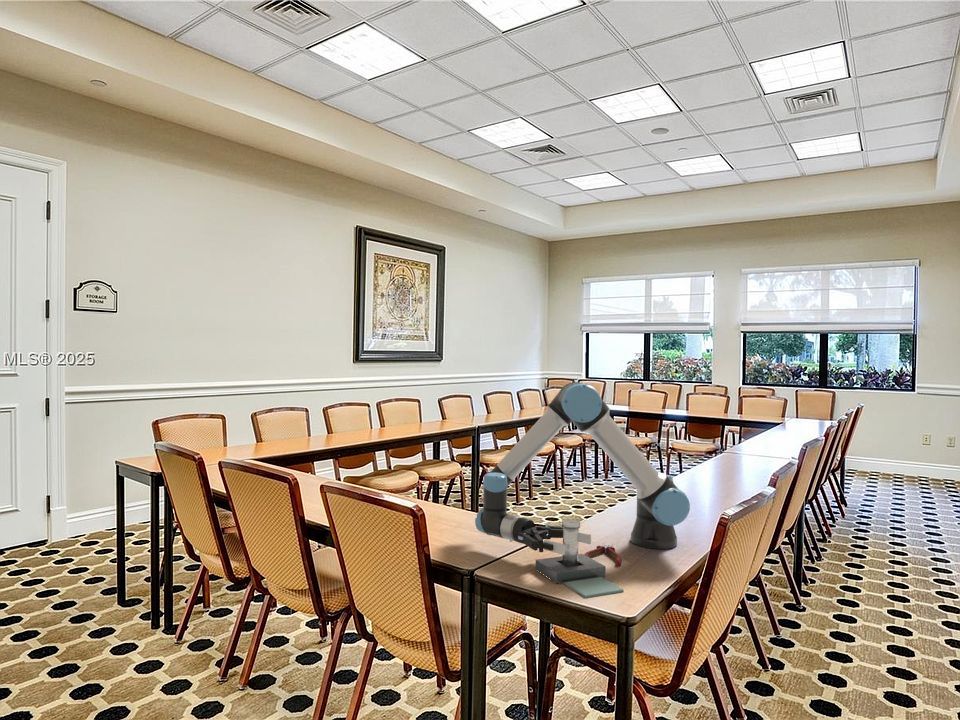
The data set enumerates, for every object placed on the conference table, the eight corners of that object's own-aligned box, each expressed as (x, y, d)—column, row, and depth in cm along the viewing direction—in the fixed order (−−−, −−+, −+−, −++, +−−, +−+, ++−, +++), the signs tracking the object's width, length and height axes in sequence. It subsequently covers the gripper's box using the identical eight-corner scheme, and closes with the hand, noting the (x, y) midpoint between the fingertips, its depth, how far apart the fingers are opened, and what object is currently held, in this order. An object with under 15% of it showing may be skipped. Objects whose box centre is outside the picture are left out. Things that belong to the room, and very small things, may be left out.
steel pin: (572, 569, 181) (573, 518, 181) (582, 575, 176) (583, 522, 176) (557, 571, 179) (558, 519, 179) (566, 577, 174) (568, 524, 174)
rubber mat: (601, 579, 173) (601, 576, 173) (623, 591, 164) (623, 589, 164) (564, 584, 168) (564, 582, 168) (585, 597, 159) (585, 595, 159)
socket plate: (582, 563, 186) (582, 553, 186) (605, 576, 175) (605, 566, 175) (535, 570, 180) (535, 559, 180) (556, 584, 169) (556, 573, 169)
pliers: (625, 549, 203) (626, 541, 203) (620, 569, 184) (620, 560, 183) (590, 545, 206) (590, 537, 206) (582, 564, 187) (582, 556, 187)
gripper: (542, 533, 199) (600, 548, 185) (492, 550, 180) (552, 568, 166) (542, 510, 199) (600, 522, 185) (492, 525, 180) (552, 540, 166)
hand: (577, 544), depth 176 cm, fingers open, 13 cm apart
